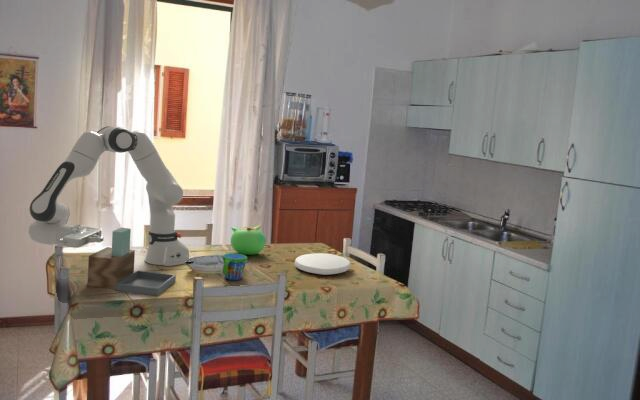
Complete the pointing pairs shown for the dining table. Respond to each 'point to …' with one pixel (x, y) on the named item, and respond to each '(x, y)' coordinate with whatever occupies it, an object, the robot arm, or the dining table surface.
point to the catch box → (146, 283)
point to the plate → (322, 263)
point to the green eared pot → (248, 240)
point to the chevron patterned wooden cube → (109, 268)
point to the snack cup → (234, 265)
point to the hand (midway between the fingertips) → (101, 239)
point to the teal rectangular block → (121, 242)
